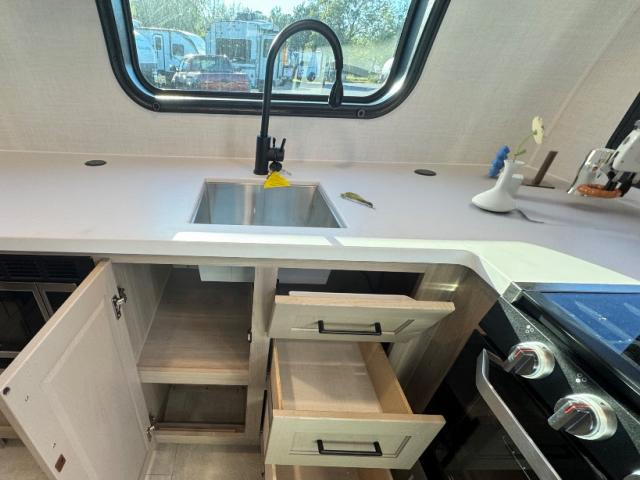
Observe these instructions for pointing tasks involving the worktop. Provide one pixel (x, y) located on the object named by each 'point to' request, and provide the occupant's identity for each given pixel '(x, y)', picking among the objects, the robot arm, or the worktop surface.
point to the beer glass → (590, 169)
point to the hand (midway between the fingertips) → (612, 194)
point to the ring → (598, 191)
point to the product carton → (513, 183)
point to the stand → (542, 173)
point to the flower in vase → (508, 177)
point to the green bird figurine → (356, 198)
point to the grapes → (499, 161)
